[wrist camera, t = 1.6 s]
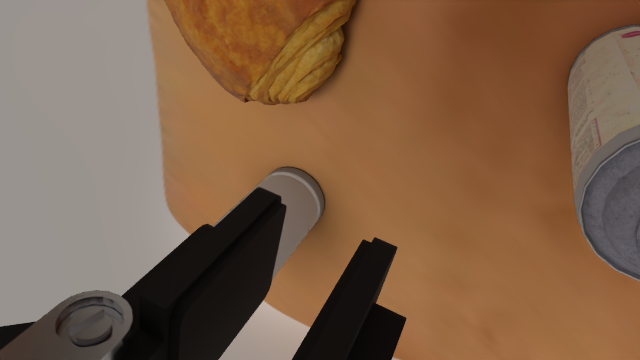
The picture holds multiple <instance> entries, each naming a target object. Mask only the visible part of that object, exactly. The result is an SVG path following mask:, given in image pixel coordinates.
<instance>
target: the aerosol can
mask: <svg viewBox="0 0 640 360" xmlns="http://www.w3.org/2000/svg"><path fill="white" fill-rule="evenodd" d="M567 89H568V106H569V124H570V141H571V159H572V176H573V194H574V203H575V209H576V214H577V220H578V223H579V224H580V226H581V228H582V232H583V235H584V236H585V238H586V240H587V241H588V243H589V244H590V246H591V248H592V249H593V251H594V252H595V254H596V255H597V256H599V257H600V258H601V259H602V260H603V261H605V262H606V263H607V264H608V265H610V266H611V267H612V268H613V269H614V270H616V271H618V272H620V273H622V274H624V275H627V276H629V277H631V278H633V279H636V280H638V281H640V25H628V26H624V27H620V28H616V29H612V30H610V31H608V32H606V33H604V34H602V35H601V36H599V37H597V38H595V39H593V40H592V41H591V42H590V43H589V44H588V45H587V46H586V47H585V48H584V49H583V50H582V51H581V52H580V53H579V54H578V56H577V58H576V59H575V61H574V63H573V65H572V66H571V68H570V73H569V78H568V83H567Z"/></svg>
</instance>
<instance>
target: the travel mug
mask: <svg viewBox="0 0 640 360" xmlns="http://www.w3.org/2000/svg"><path fill="white" fill-rule="evenodd" d="M257 187H261V188H264V189H266V190H268V191H271V192H273V193H275V194H277V195H280V196H281V199H282V201H281V203H283V204H285V205H286V206H287V209H286V214H285V219H284V224H283V229H282V234H281V239H280V243H279V248H278V253H277V258H276V263H275V267H274V272H273V277H272V279H273V278H274V276H275V275H276V274H277V272H278V271H279V270H280V269H281V267H282V266H283V265H284V263H285V262H286V261H287V260H288V258H289V257H290V256H291V254H292V253H293V252H294V251H295V249H296V248H297V247H298V245H299V244H300V243H301V242H302V240H303V239H304V238H305V236H306V235H307V234H308V232H309V231H310V230H311V229H312V227H313V226H314V225H315V223H316V222H317V221H318V220H319V218H320V217H321V215H322V213H323V210H324V197H323V194H322V191H321V189H320V187H319V186H318V184H317V183H316V182H315V180H314V179H313V178H312V177H310V176H309V175H308V174H306V173H305V172H303V171H301V170H298V169H295V168H289V167H285V168H279V169H276V170H275V171H273V172H272V173H271V174H270V175H268V176H267V177H266V178H265V179H264V180H263V181H262V182H261V183H260V184H259V185H257V186H256V187H255V188H254V189H253V190H252V191H251V192H253V191H254V190H255V189H256V188H257ZM251 192H250V193H251ZM250 193H249V194H250ZM249 194H248V195H249ZM248 195H246V196H245V197H244V198H243V199H242V200H241V201H240V202H239V203H241V202H242V201H243V200H244V199H245V198H246V197H247V196H248ZM239 203H238V204H239ZM238 204H237V205H238ZM237 205H236V206H237ZM236 206H234V207H233V208H232V209H231V210H230V211H229V212H228V213H227V214H229V213H230V212H231V211H232V210H233V209H234V208H235V207H236ZM227 214H226V215H227ZM226 215H225V216H226ZM225 216H223V217H222V218H221V219H220V220H219V221H218V222H217V223H216V224H215V225H217V224H218V223H219V222H220V221H221V220H222V219H223V218H224V217H225ZM215 225H214V226H215ZM214 226H213V227H214Z"/></svg>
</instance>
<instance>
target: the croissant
mask: <svg viewBox="0 0 640 360" xmlns="http://www.w3.org/2000/svg"><path fill="white" fill-rule="evenodd" d="M164 1H165V3H166V5H167V7H168V9H169V11H170V12H171V14H172V17H173V20H174V22H175V24H176V25H177V27H178V28H179V30H180V33H181V34H182V36H183V38H184V40H185V42H186V43H187V45H188V46H189V47H190V49H191V50H192V51H193V53H194V54H195V55H196V56H197V57H198V58H199V60H200V62H201V63H202V65H203V66H204V67H205V68H206V69H207V70H208V72H209V73H210V75H211V76H212V77H213V78H214V79H215V80H216V81H217V82H218V83H219V84H220V85H221V86H222V87H223V88H224V89H225V90H226V91H227V92H229V93H230V94H232V95H233V96H235V97H237V98H238V99H240V100H241V101H243V102H245V103H246V102H248V101H259V102H261V103H263V104H267V105H276V104H280V103H281V104H289V103H299V102H303V101H307V100H308V99H309V97H310V96H311V94H312V93H313V91H314V90H315V89H317V88H318V87H319V86H321V85H322V84H323V83H324V82H325V81H326V80H327V79H328V78H329V76H330V75H332V74H333V71H334V69H335V66H336V64H337V63H338V62H339V61H340V60H341V59H342V53H340V51H341V46H342V44H343V41H344V35H343V31H342V28H341V25H343V24H344V23H346V22H347V21H348V20H349V17H350V14H351V10H352V9H353V7H355V6H356V0H164Z"/></svg>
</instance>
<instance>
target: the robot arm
mask: <svg viewBox="0 0 640 360" xmlns="http://www.w3.org/2000/svg"><path fill="white" fill-rule="evenodd" d="M281 201H282V199H281V196H280V195H277V194H275V193H273V192H271V191H268V190H266V189H264V188H261V187H257V188H256V189H255V190H254V191H253V192H251V193H250V194H249V195H248V196H247V197H246V198H245V199H244V200H243V201H242V202H241V203H239V204H238V205H237V206H236V207H235V208H234V209H233V210H232V211H231V212H230V213H229V214H227V215H226V216H225V217H224V218H223V219H222V220H221V221H220V222H219V223H218V224H217V225H215V226H214V227H213V226H211V225H209V224H205V225H202V226H201V227H200V228H198V229H197V230H196V231H195V232H194V233H192V234H191V235H190V236H189V237H188V238H187V239H186V240H184V242H182V243H181V244H180V245H179V246H178V247H177V248H176V249H174V250H173V251H172V252H171V253H170V254H169V255H167V256H166V257H165V258H164V259H163V260H162V261H161V262H160V263H158V264H157V265H156V266H155V267H154V268H153V269H152V270H150V271H149V272H148V273H147V274H146V275H145V276H144V277H143V278H141V279H140V280H139V281H138V282H137V283H136V284H135V285H134V286H133V287H131V288H130V289H129V290H128V291H127V292H126V293H124V294H123V295H122V296H120V295H117V294H115V293H112V292H109V291H99V290H95V291H87V292H82V293H79V294H76V295H74V296H71V297H69V298H67V299H66V300H64V301H62V302H61V303H59V304H58V305H57V306H56V307H54V308H53V309H52V310H50V311H49V312H48V313H47V314H45V315H44V316H43V317H42V318H41V319H39V320H38V321H36V322H30V323H23V324H16V325H9V326H2V327H0V360H218V359H219V358H220V357H221V355H222V354H223V353H224V351H225V350H226V349H227V347H228V346H229V345H230V344H231V342H232V341H233V339H234V338H235V337H236V336H237V334H238V333H239V332H240V330H241V329H242V328H243V326H244V325H245V323H246V322H247V321H248V320H249V318H250V317H251V316H252V314H253V313H254V312H255V310H256V309H257V308H258V307H259V305H260V304H261V303H262V301H263V300H264V298H265V297H266V295H267V293H268V291H269V289H270V286H271V282H272V277H273V272H274V267H275V263H276V258H277V253H278V248H279V243H280V239H281V234H282V229H283V224H284V219H285V214H286V209H287V206H286V205H285V204H283V203H281ZM396 250H397V247H396V246H394V245H392V244H389V243H387V242H385V241H382V240H380V239H378V238H376V237H375V238H374V239H373V241H372V242H368V241H366V240H364V239H363V240H362V242H361V244H360V245H359V247H358V249H357V250H356V252H355V254H354V255H353V257H352V259H351V261H350V262H349V264H348V266H347V267H346V269H345V271H344V272H343V274H342V276H341V277H340V279H339V281H338V282H337V284H336V286H335V288H334V289H333V291H332V293H331V294H330V296H329V298H328V299H327V301H326V303H325V304H324V306H323V308H322V309H321V311H320V313H319V315H318V316H317V318H316V320H315V321H314V323H313V325H312V326H311V328H310V330H309V332H308V333H307V335H306V337H305V338H304V340H303V341H302V343H301V345H300V347H299V348H298V350H297V352H296V353H295V355H294V357H293V359H292V360H391V359H392V357H393V354H394V351H395V349H396V346H397V343H398V340H399V338H400V335H401V332H402V330H403V327H404V324H405V321H406V318H405V317H403V316H401V315H399V314H397V313H395V312H393V311H391V310H389V309H386V308H384V307H382V306H380V305H378V304H376V302H377V299H378V296H379V294H380V291H381V289H382V286H383V284H384V281H385V279H386V276H387V274H388V271H389V268H390V266H391V263H392V261H393V258H394V256H395V253H396Z"/></svg>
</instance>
